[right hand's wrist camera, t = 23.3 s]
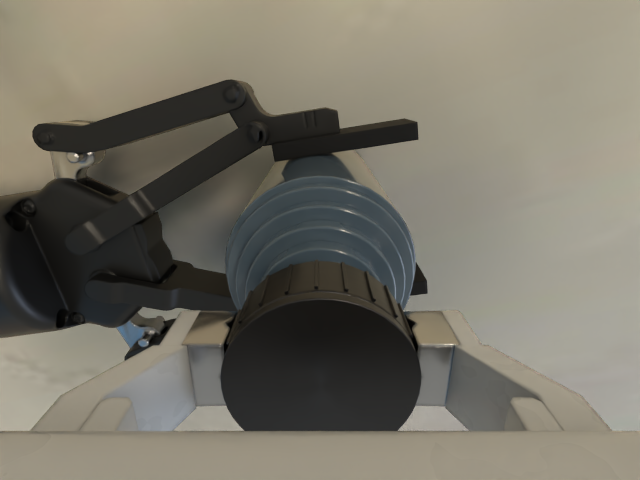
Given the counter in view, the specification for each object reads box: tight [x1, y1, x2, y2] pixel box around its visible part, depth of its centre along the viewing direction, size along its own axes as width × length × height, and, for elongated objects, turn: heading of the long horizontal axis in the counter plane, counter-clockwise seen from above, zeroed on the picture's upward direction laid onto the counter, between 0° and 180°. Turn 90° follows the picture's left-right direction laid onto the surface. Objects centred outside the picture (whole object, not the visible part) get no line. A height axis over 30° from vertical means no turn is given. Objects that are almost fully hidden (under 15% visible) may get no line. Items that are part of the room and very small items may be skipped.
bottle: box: [225, 150, 416, 310], centre depth 17 cm, size 7×7×18 cm
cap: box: [220, 260, 421, 431], centre depth 9 cm, size 5×5×2 cm
